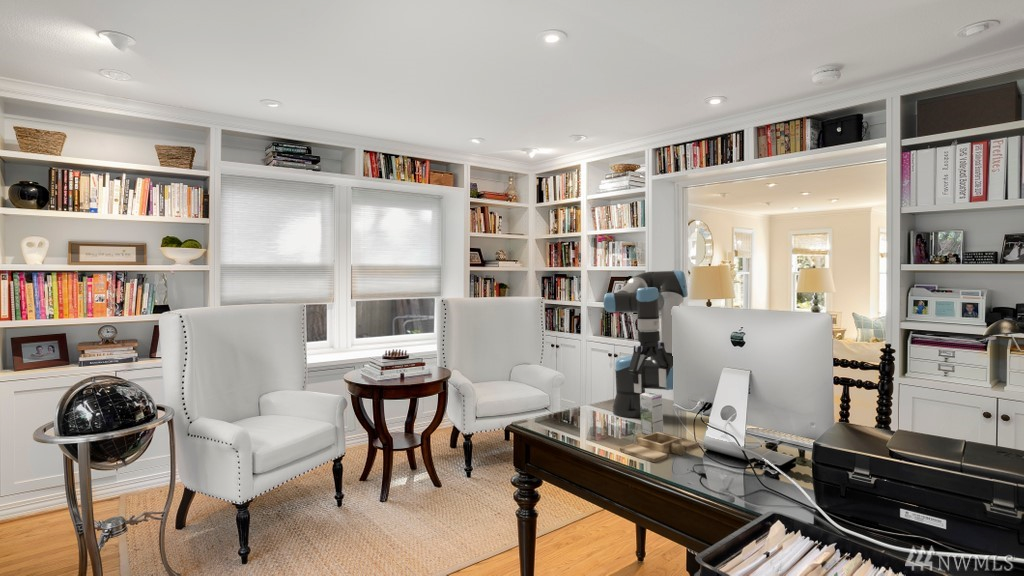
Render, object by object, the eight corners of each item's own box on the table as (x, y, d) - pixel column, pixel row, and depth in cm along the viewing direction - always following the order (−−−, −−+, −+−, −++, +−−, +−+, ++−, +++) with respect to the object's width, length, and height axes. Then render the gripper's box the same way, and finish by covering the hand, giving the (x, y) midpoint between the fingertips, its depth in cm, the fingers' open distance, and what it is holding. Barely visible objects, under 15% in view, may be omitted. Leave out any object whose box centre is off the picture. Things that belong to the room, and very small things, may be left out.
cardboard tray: (615, 450, 177) (615, 439, 177) (660, 435, 190) (659, 425, 190) (658, 464, 163) (658, 452, 163) (703, 447, 176) (703, 436, 176)
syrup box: (664, 433, 192) (662, 393, 192) (652, 437, 189) (651, 396, 188) (651, 430, 197) (650, 391, 196) (640, 433, 193) (639, 393, 193)
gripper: (633, 334, 181) (635, 396, 182) (679, 328, 196) (681, 385, 196) (616, 333, 187) (618, 393, 188) (662, 327, 202) (664, 383, 202)
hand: (650, 389), depth 192 cm, fingers open, 13 cm apart
